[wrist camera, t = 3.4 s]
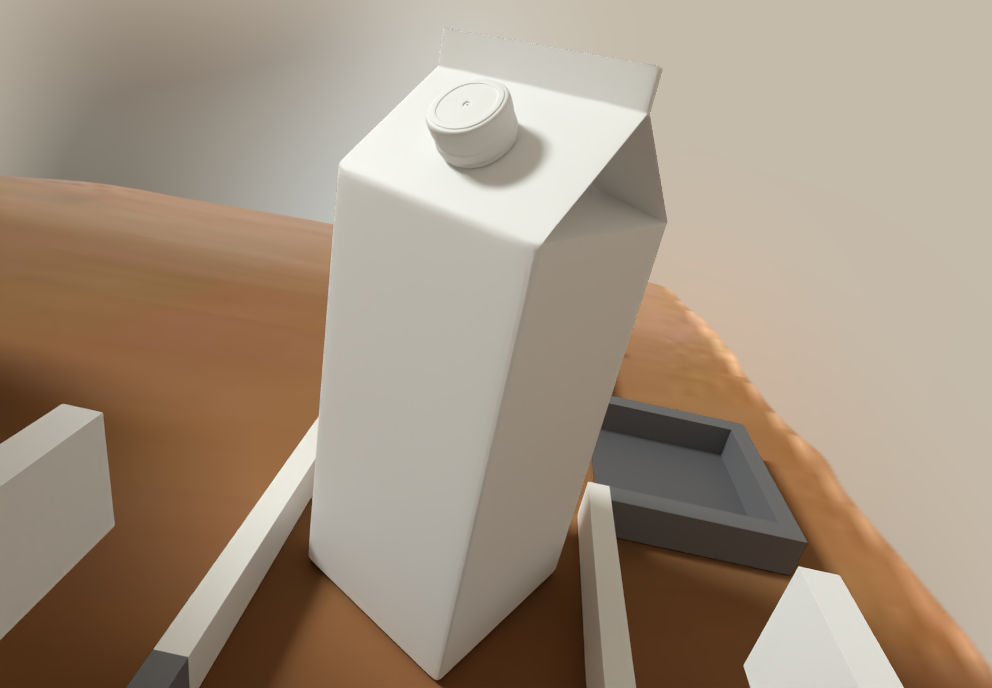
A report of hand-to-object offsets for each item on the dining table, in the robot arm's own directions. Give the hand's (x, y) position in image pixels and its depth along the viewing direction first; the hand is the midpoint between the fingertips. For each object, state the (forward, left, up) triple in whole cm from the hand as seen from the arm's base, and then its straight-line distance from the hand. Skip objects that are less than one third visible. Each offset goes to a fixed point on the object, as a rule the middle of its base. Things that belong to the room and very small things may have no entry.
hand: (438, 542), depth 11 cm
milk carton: (0, +9, -10) cm, 14 cm away
